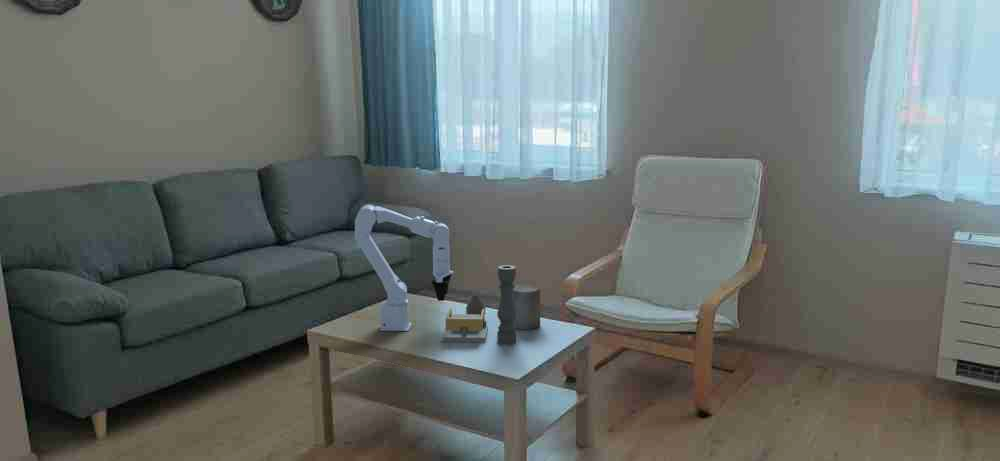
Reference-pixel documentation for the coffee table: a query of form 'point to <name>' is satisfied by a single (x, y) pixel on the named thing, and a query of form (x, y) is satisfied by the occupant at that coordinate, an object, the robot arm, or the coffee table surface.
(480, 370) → the coffee table surface
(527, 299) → the pillar candle
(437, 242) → the robot arm
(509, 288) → the candle holder
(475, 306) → the vase
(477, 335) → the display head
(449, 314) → the tan bracket frame
